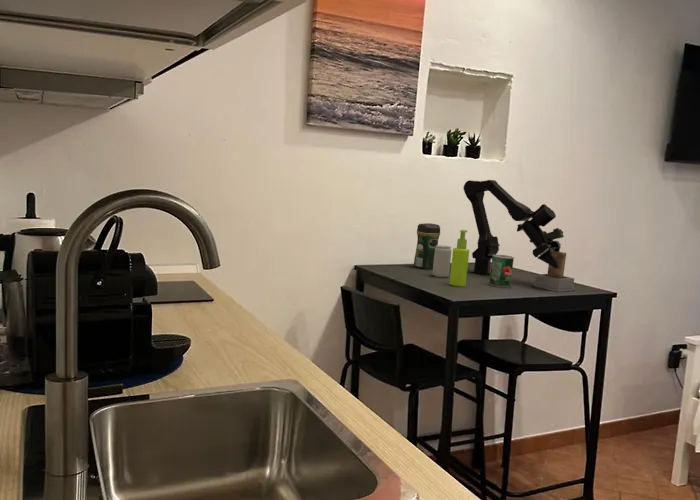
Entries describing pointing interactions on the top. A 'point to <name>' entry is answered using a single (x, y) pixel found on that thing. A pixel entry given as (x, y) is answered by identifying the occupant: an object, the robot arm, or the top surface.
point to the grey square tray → (554, 283)
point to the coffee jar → (426, 245)
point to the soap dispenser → (459, 262)
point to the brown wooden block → (560, 261)
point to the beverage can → (442, 261)
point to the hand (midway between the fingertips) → (560, 266)
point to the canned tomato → (501, 270)
